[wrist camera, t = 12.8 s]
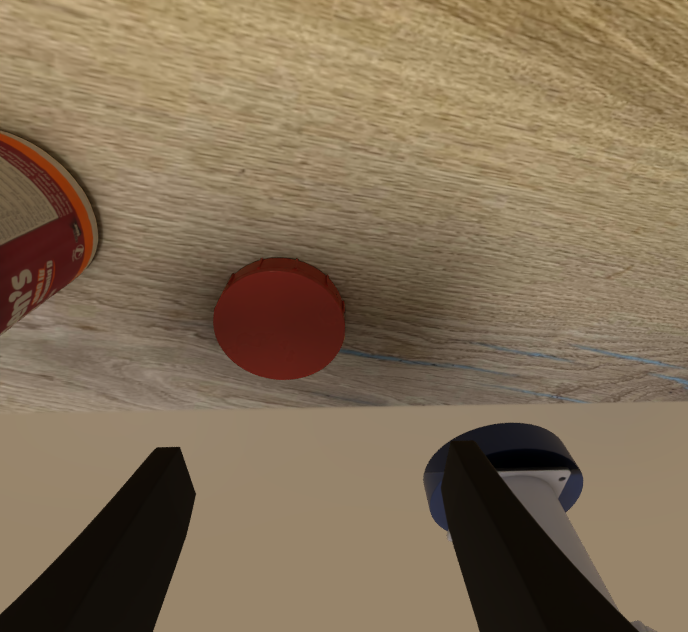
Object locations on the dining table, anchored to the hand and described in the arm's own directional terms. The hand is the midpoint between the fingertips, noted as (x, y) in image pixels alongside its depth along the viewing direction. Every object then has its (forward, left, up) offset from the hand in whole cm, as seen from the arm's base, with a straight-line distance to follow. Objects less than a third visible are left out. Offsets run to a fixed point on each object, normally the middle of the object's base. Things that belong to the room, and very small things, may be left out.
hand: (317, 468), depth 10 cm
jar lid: (0, +2, -8) cm, 8 cm away
